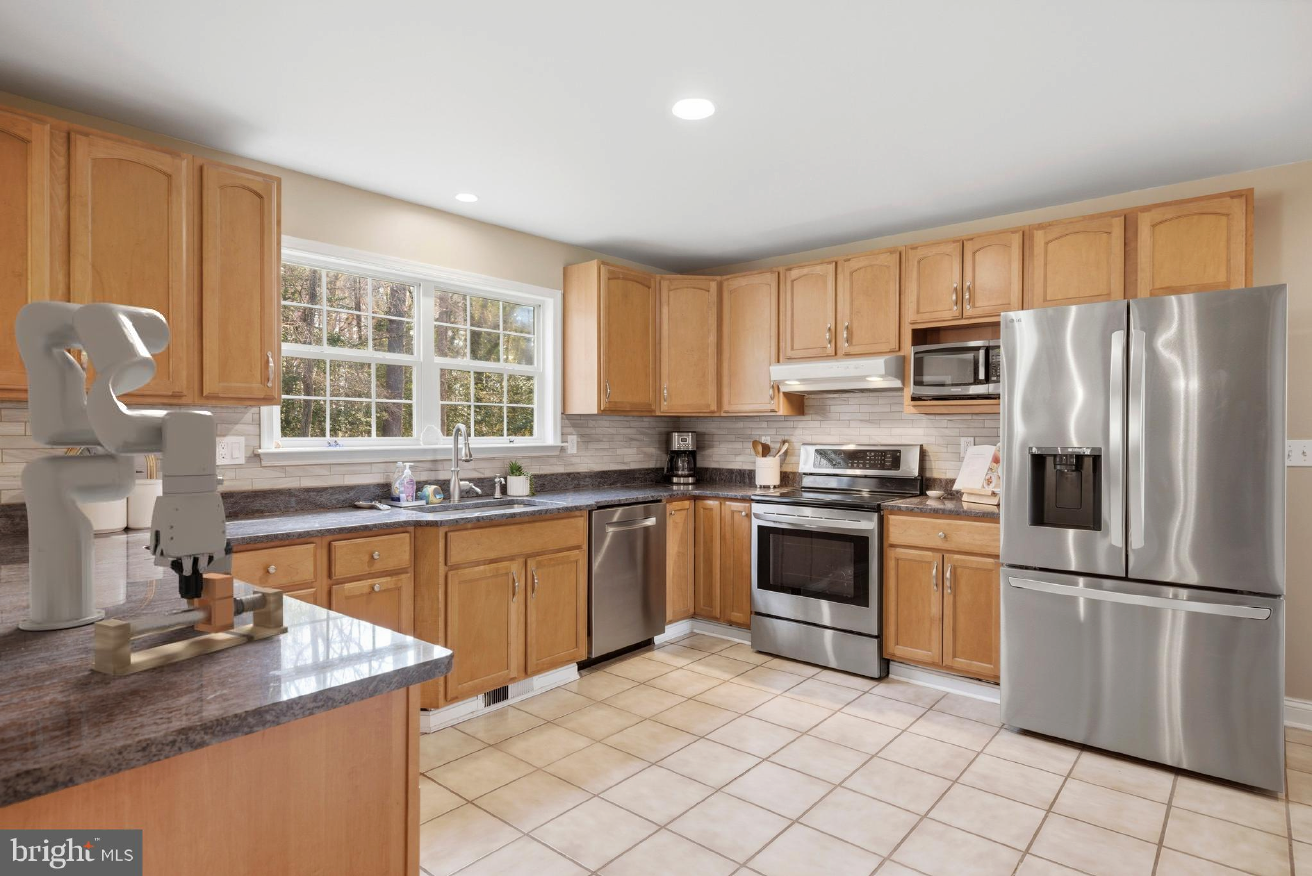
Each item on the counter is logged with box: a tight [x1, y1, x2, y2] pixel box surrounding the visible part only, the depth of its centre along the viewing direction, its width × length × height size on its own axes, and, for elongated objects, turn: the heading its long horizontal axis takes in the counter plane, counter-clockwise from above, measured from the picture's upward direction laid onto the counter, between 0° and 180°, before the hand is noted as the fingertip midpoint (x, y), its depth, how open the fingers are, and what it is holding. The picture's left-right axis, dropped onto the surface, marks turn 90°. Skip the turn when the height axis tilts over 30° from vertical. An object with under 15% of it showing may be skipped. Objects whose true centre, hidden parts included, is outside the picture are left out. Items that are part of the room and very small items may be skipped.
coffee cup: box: [186, 539, 235, 609], centre depth 138 cm, size 8×8×15 cm
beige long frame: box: [90, 587, 289, 677], centre depth 121 cm, size 27×8×7 cm, turn 152°
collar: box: [193, 573, 235, 634], centre depth 123 cm, size 3×6×9 cm, turn 62°
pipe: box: [125, 593, 267, 640], centre depth 121 cm, size 25×3×3 cm, turn 152°
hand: (191, 597), depth 120 cm, fingers closed
